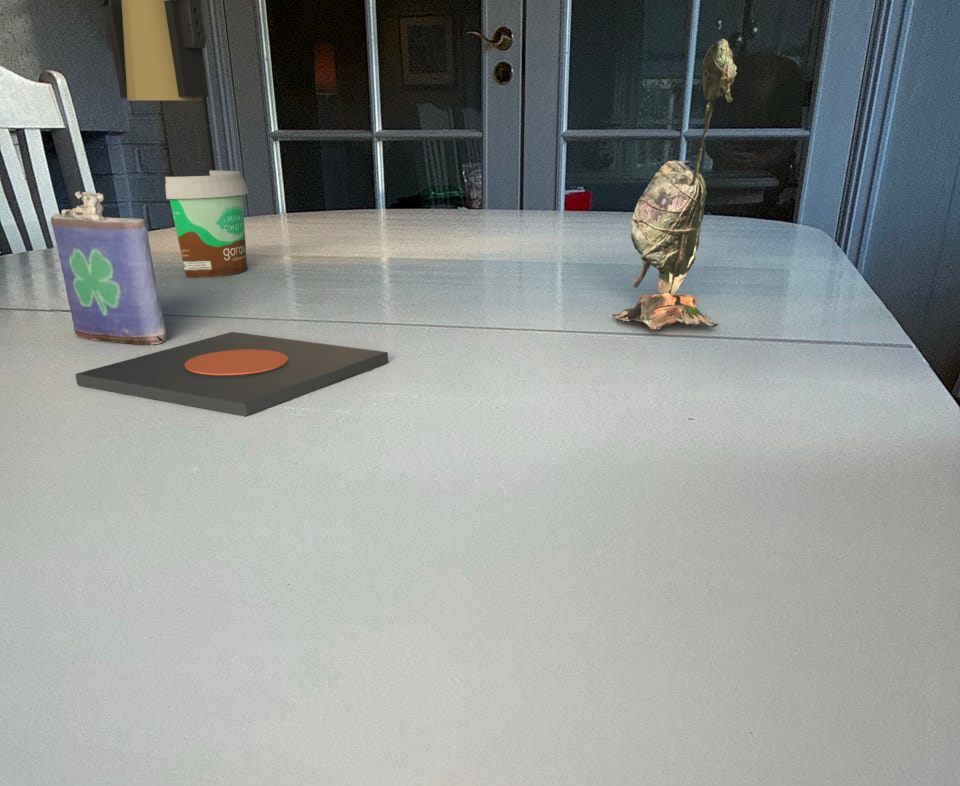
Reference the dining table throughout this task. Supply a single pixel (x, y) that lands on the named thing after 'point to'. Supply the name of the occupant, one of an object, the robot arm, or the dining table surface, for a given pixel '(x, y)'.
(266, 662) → the dining table surface
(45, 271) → the dining table surface
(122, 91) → the robot arm
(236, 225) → the food container
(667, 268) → the plant with pod
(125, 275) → the flask
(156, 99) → the cork
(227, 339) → the placemat
